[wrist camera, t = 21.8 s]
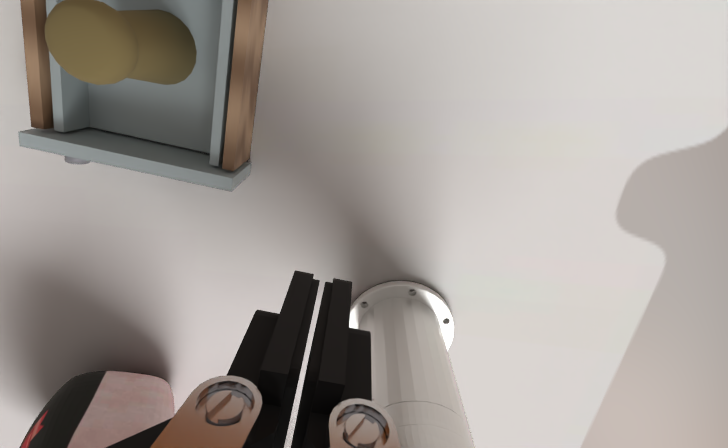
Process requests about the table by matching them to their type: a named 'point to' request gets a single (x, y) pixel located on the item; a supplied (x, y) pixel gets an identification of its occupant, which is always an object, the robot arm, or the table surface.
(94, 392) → the packaged food
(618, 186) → the table surface
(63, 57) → the cork
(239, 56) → the frame
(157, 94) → the tray
